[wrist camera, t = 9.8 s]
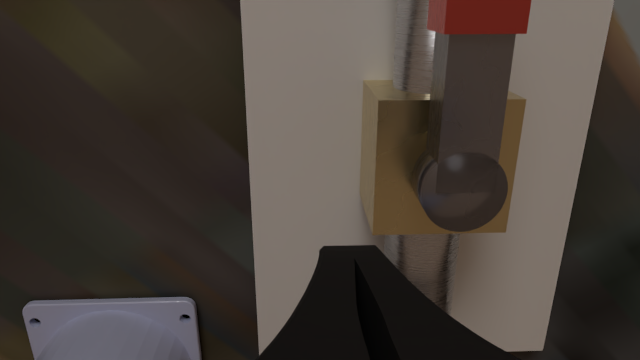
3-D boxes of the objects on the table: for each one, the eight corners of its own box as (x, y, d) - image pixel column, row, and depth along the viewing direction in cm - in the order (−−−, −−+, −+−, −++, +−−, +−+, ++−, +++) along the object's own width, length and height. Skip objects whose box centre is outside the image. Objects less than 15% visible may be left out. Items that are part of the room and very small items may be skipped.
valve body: (452, 314, 24) (486, 383, 20) (354, 316, 24) (366, 387, 19) (503, -111, 17) (568, -143, 13) (368, -113, 17) (391, -146, 13)
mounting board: (531, 334, 26) (542, 350, 24) (261, 342, 25) (259, 359, 24) (628, -170, 18) (651, -181, 16) (234, -176, 17) (230, -188, 16)
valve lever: (483, 209, 17) (504, 233, 15) (407, 211, 17) (420, 235, 15) (529, -145, 13) (563, -165, 11) (432, -146, 13) (452, -166, 11)
